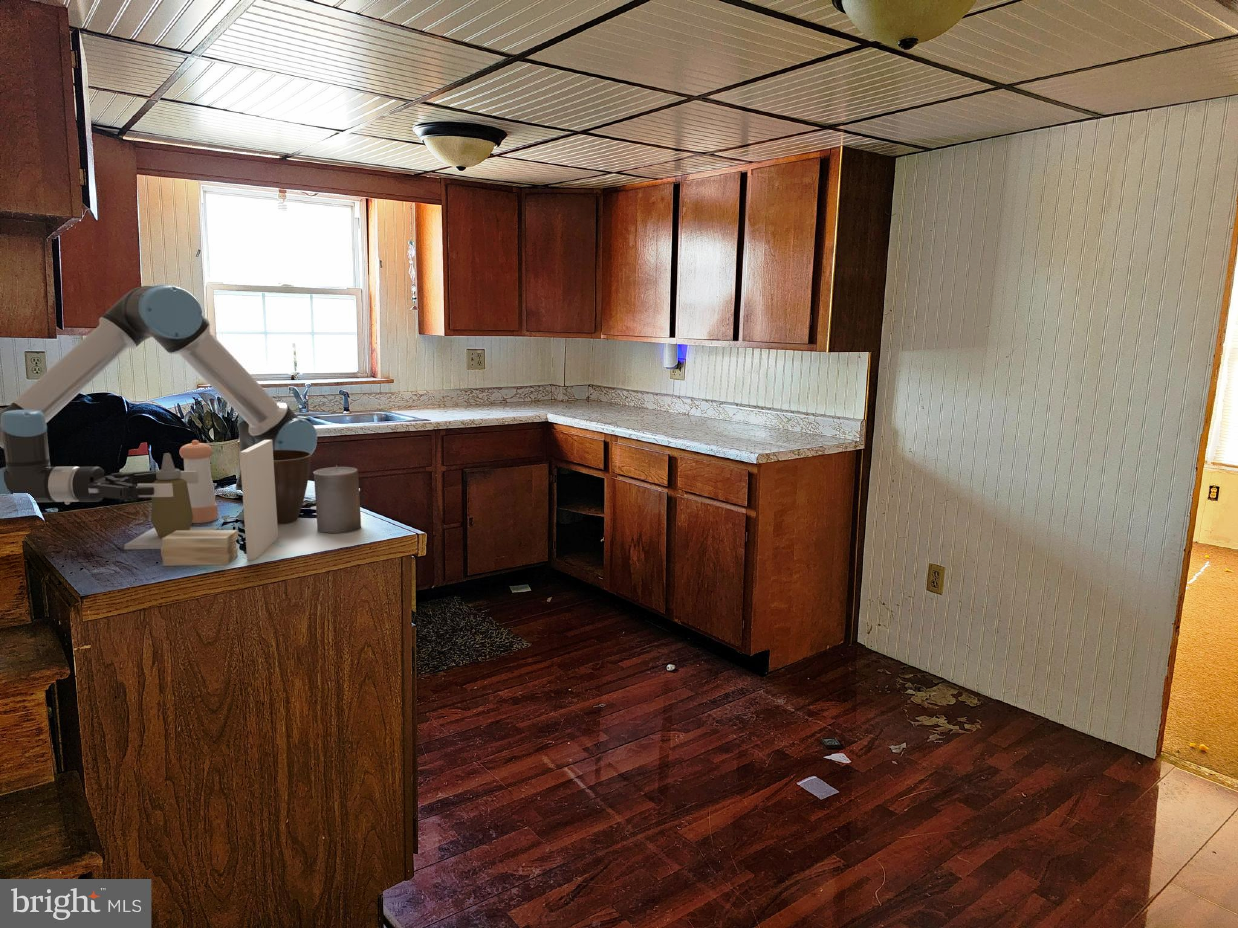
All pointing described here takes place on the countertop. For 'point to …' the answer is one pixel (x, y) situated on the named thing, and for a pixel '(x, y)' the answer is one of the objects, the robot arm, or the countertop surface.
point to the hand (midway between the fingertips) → (185, 483)
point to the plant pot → (290, 482)
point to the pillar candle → (337, 499)
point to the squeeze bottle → (171, 501)
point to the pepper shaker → (200, 481)
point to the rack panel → (259, 498)
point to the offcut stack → (199, 547)
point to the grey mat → (154, 539)
